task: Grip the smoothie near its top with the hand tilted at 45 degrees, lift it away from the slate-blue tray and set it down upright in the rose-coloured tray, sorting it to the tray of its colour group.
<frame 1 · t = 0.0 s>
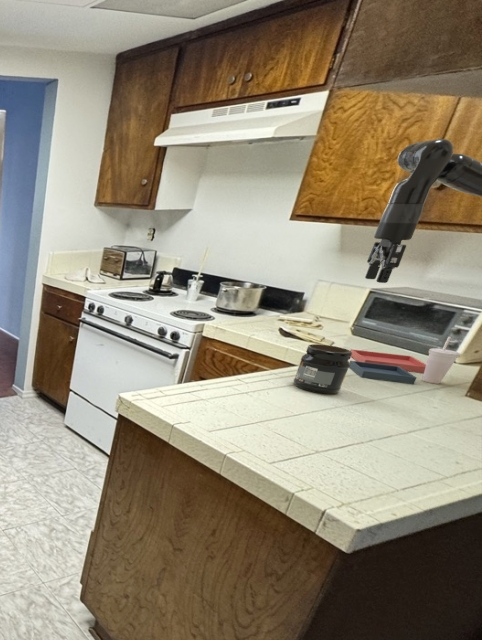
hand: (375, 280, 136), 29 cm above the counter, tool pointing down, fingers open, 8 cm apart
rose tray: (386, 363, 159), on the counter
supplement container: (314, 388, 136), on the counter
smoothie: (430, 382, 143), on the counter
slate tray: (379, 374, 148), on the counter
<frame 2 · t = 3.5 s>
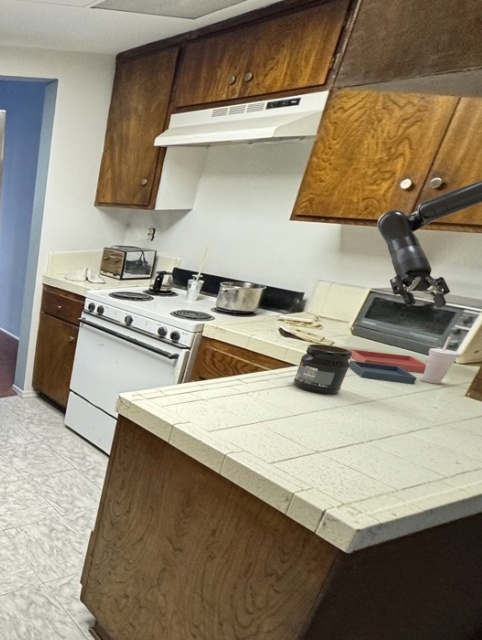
hand: (426, 305, 146), 21 cm above the counter, tool tilted 45°, fingers open, 8 cm apart
nothing on the counter moved.
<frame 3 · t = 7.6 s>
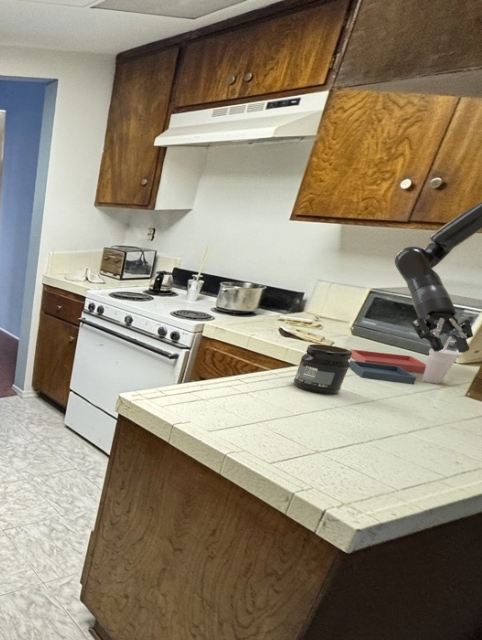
hand: (451, 350, 138), 10 cm above the counter, tool tilted 45°, fingers closed on smoothie, 6 cm apart
smoothie: (430, 382, 143), on the counter, touching gripper
everything else where it was.
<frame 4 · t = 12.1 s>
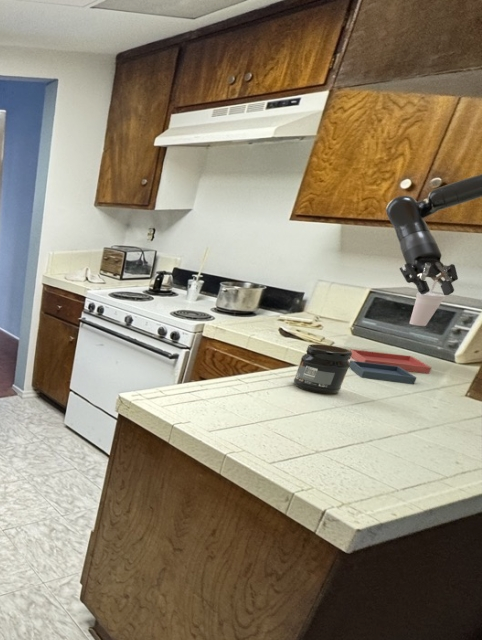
hand: (437, 293, 144), 25 cm above the counter, tool tilted 45°, fingers closed on smoothie, 6 cm apart
smoothie: (417, 325, 149), point 15 cm above the counter, touching gripper
everything else where it was.
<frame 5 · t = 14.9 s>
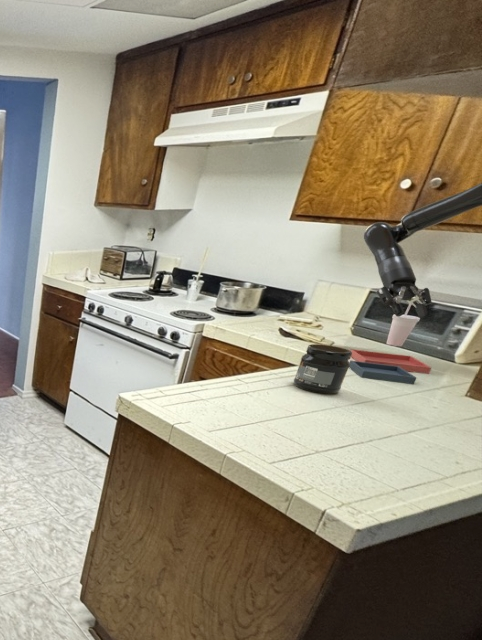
hand: (411, 315, 152), 17 cm above the counter, tool tilted 45°, fingers closed on smoothie, 6 cm apart
smoothie: (393, 345, 157), point 7 cm above the counter, touching gripper
everything else where it was.
when the fingers open (11 cm above the counter, at t = 17.1 s): smoothie stays where it is, resting on rose tray.
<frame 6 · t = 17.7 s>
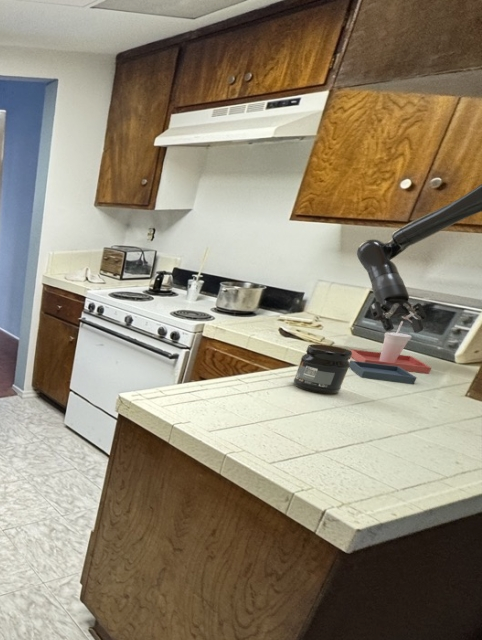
hand: (404, 330, 154), 12 cm above the counter, tool tilted 45°, fingers open, 8 cm apart
smoothie: (386, 362, 159), resting on rose tray
everything else where it was.
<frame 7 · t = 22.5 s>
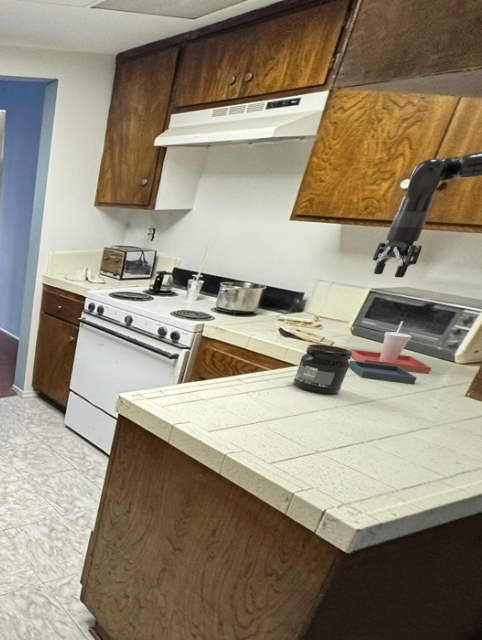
hand: (387, 275, 161), 28 cm above the counter, tool pointing down, fingers open, 8 cm apart
nothing on the counter moved.
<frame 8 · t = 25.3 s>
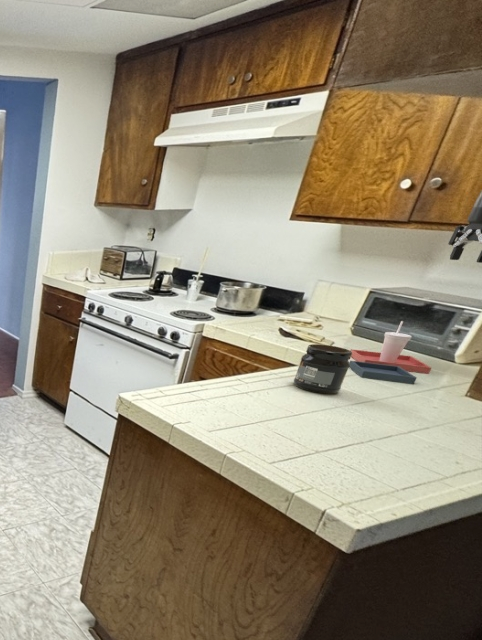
hand: (467, 261, 148), 34 cm above the counter, tool pointing down, fingers open, 8 cm apart
nothing on the counter moved.
at the end: smoothie inside the target area in the rose tray (0.2 cm from its centre), point 0.4 cm above the rose tray's base; smoothie tilted 0°; the gripper is holding nothing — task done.
